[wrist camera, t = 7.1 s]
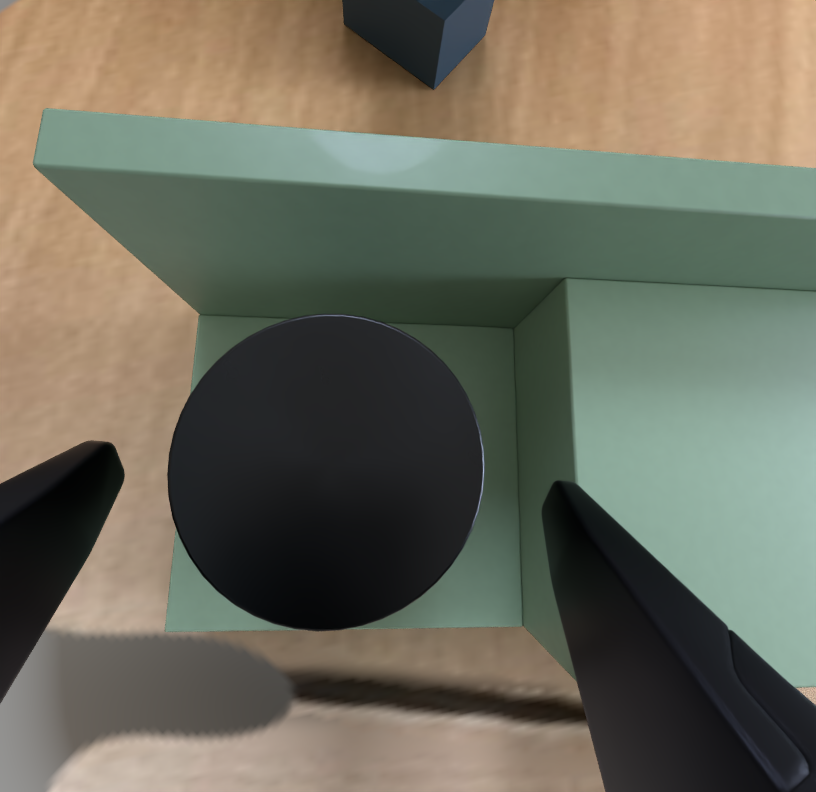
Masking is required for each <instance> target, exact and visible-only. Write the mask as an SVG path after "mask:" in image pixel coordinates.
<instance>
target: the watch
mask: <svg viewBox="0 0 816 792" xmlns="http://www.w3.org/2000/svg"><path fill="white" fill-rule="evenodd" d="M342 2H343V17H344V24H345V25H346V26H347V27H349V28H350V29H352V30H353V31H354V32H356V33H357V34H358V35H360V36H361V37H362V38H364V39H365V40H367V41H368V42H369V43H371V44H372V45H373V46H375V47H376V48H377V49H379V50H380V51H382V52H383V53H384V54H386V55H387V56H388V57H390V58H391V59H392V60H394V61H395V62H397V63H398V64H399V65H401V66H402V67H403V68H405V69H406V70H407V71H409V72H410V73H412V74H413V75H414V76H416V77H417V78H418V79H420V80H421V81H423V82H424V83H425V84H427V85H428V86H429V87H431V88H432V89H433V90H434V89H435V88H436V87H437V86H438V85H439V84H440V83H441V82H442V81H443V79H444V78H445V77H446V76H447V75H448V74H449V73H450V72H451V71H452V70H453V69H454V68H455V67H456V66H457V65H458V64H459V62H460V61H461V60H462V59H463V58H464V57H465V56H466V55H467V54H468V53H469V52H470V51H471V50H472V49H473V48H474V47H475V45H476V44H477V43H478V42H479V41H480V40H481V39H482V38H483V37H484V36H485V34H486V30H487V26H488V22H489V18H490V14H491V11H492V7H493V3H494V0H342Z"/></svg>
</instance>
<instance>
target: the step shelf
mask: <svg viewBox="0 0 816 792" xmlns="http://www.w3.org/2000/svg"><path fill="white" fill-rule="evenodd" d="M33 165H34V167H35V168H36V169H37V170H38V171H39V172H40V173H41V174H43V175H44V176H45V177H46V178H47V179H48V180H49V181H50V182H52V183H53V184H54V185H55V186H56V187H57V188H58V189H59V190H61V191H62V192H63V193H64V194H65V195H66V196H67V197H68V198H70V199H71V200H72V201H73V202H74V203H75V204H76V205H77V206H79V207H80V208H81V209H82V210H83V211H84V212H85V213H86V214H88V215H89V216H90V217H91V218H92V219H93V220H94V221H95V222H97V223H98V224H99V225H100V226H101V227H102V228H103V229H104V230H106V231H107V232H108V233H109V234H110V235H111V236H112V237H114V238H115V239H116V240H117V241H118V242H119V243H120V244H121V245H123V246H124V247H125V248H126V249H127V250H128V251H129V252H130V253H132V254H133V255H134V256H135V257H136V258H137V259H138V260H139V261H141V262H142V263H143V264H144V265H145V266H146V267H147V268H148V269H150V270H151V271H152V272H153V273H154V274H155V275H156V276H157V277H159V278H160V279H161V280H162V281H163V282H164V283H165V284H166V285H168V286H169V287H170V288H171V289H172V290H173V291H174V292H175V293H177V294H178V295H179V296H180V297H181V298H182V299H183V300H184V301H186V302H187V303H188V304H189V305H190V306H191V307H192V308H193V309H195V310H196V311H197V312H198V313H199V314H200V315H199V319H198V328H197V338H196V347H195V356H194V365H193V375H192V384H191V393H192V391H193V390H194V388H195V387H196V385H197V384H198V383H199V381H200V380H201V378H202V377H203V376H204V374H205V373H206V372H207V371H208V370H209V369H210V368H211V367H212V365H213V364H214V363H215V362H216V361H217V360H218V359H219V358H221V357H222V356H223V355H224V354H225V353H226V352H227V351H228V350H230V349H231V348H232V347H233V346H235V345H236V344H238V343H239V342H241V341H242V340H244V339H245V338H247V337H248V336H250V335H252V334H254V333H256V332H258V331H260V330H262V329H264V328H266V327H268V326H271V325H273V324H276V323H279V322H282V321H284V320H288V319H292V318H297V317H301V316H306V315H315V314H349V315H356V316H363V317H367V318H370V319H374V320H378V321H381V322H384V323H386V324H389V325H391V326H394V327H396V328H399V329H400V330H402V331H404V332H406V333H408V334H409V335H411V336H413V337H415V338H416V339H418V340H419V341H420V342H422V343H423V344H424V345H426V346H427V347H428V348H430V349H431V350H432V351H433V352H434V353H435V354H436V355H437V356H438V357H439V358H440V359H441V360H442V361H444V362H445V364H446V365H447V366H448V367H449V369H450V370H451V371H452V372H453V374H454V375H455V376H456V377H457V379H458V380H459V382H460V384H461V385H462V387H463V388H464V390H465V392H466V393H467V395H468V398H469V400H470V402H471V404H472V406H473V409H474V411H475V414H476V417H477V420H478V423H479V427H480V430H481V435H482V441H483V446H484V459H485V476H484V489H483V494H482V499H481V504H480V509H479V512H478V515H477V518H476V521H475V524H474V527H473V529H472V532H471V534H470V536H469V538H468V540H467V542H466V544H465V546H464V548H463V550H462V551H461V552H460V554H459V555H458V557H457V558H456V560H455V561H454V563H453V564H452V566H451V567H450V568H449V570H448V571H447V572H446V573H445V574H444V575H443V576H442V578H441V579H440V580H439V581H438V582H437V583H436V584H435V585H434V586H433V587H432V588H430V589H429V590H428V591H427V592H426V593H425V594H424V595H423V596H421V597H420V598H419V599H417V600H416V601H414V602H413V603H411V604H410V605H408V606H407V607H405V608H404V609H402V610H400V611H398V612H396V613H394V614H392V615H390V616H388V617H386V618H384V619H382V620H379V621H376V622H373V623H370V624H367V625H364V626H360V627H355V628H349V629H406V628H472V627H522V626H524V627H525V628H526V629H527V630H528V631H529V632H530V633H531V634H532V635H533V636H534V637H535V638H536V640H537V641H538V642H539V643H540V644H541V645H542V646H543V647H544V648H545V649H546V650H547V651H548V652H549V653H550V654H551V655H552V656H553V657H554V658H555V659H556V660H557V662H558V663H559V664H560V665H561V666H562V667H563V668H564V669H565V670H566V671H567V672H568V673H569V674H570V675H571V676H572V677H573V678H574V679H575V680H576V676H575V672H574V669H573V665H572V661H571V657H570V653H569V649H568V646H567V642H566V638H565V634H564V630H563V626H562V623H561V619H560V615H559V611H558V607H557V603H556V600H555V596H554V591H553V587H552V582H551V577H550V571H549V564H548V557H547V550H546V543H545V537H544V530H543V523H542V516H541V510H542V505H543V503H544V500H545V498H546V496H547V494H548V492H549V490H550V487H551V485H552V484H553V482H554V481H556V480H562V481H572V482H575V483H576V484H578V485H579V486H580V487H581V488H582V489H583V490H584V491H585V492H586V493H587V494H588V495H589V496H590V497H592V498H593V499H594V500H595V501H596V502H597V503H598V504H599V505H600V506H601V507H602V508H603V509H604V510H605V511H606V512H607V513H609V514H610V515H611V516H612V517H613V518H614V519H615V520H616V521H617V522H618V523H619V524H620V525H621V526H622V527H623V528H624V529H625V530H627V531H628V532H629V533H630V534H631V535H632V536H633V537H634V538H635V539H636V540H637V541H638V542H639V543H640V544H641V545H642V546H644V547H645V548H646V549H647V550H648V551H649V552H650V553H651V554H652V555H653V556H654V557H655V558H656V559H657V560H658V561H659V562H660V563H662V564H663V565H664V566H665V567H666V568H667V569H668V570H669V571H670V572H671V573H672V574H673V575H674V576H675V577H676V578H677V579H679V580H680V581H681V582H682V583H683V584H684V585H685V586H686V587H687V588H688V589H689V590H690V591H691V592H692V593H693V594H694V595H695V596H697V597H698V598H699V599H700V600H701V601H702V602H703V603H704V604H705V605H706V606H707V607H708V608H709V609H710V610H711V611H712V612H714V613H715V614H716V615H717V616H718V617H719V618H720V619H721V620H722V621H723V622H724V623H725V624H726V625H727V626H728V629H729V630H733V631H734V632H735V633H736V634H737V635H738V636H739V637H740V638H741V639H742V640H743V641H744V642H746V643H747V644H748V645H749V646H750V647H751V648H752V649H753V650H754V651H755V652H756V653H757V654H758V655H760V656H761V657H762V658H763V659H764V660H765V661H766V662H767V663H768V664H769V665H770V666H772V667H773V668H774V669H775V670H776V671H777V672H778V673H779V674H780V675H781V676H782V677H784V678H785V679H786V680H787V681H788V682H789V683H790V684H791V685H793V686H794V687H795V688H801V687H816V168H806V167H793V166H780V165H767V164H755V163H742V162H729V161H716V160H703V159H691V158H678V157H665V156H652V155H639V154H626V153H614V152H601V151H588V150H575V149H562V148H549V147H537V146H524V145H511V144H498V143H485V142H472V141H460V140H447V139H434V138H421V137H408V136H395V135H383V134H370V133H357V132H344V131H331V130H318V129H306V128H293V127H280V126H267V125H254V124H242V123H229V122H216V121H203V120H190V119H177V118H165V117H152V116H139V115H126V114H113V113H100V112H88V111H75V110H62V109H49V108H46V109H44V110H43V114H42V119H41V124H40V129H39V134H38V140H37V145H36V150H35V155H34V160H33ZM191 393H190V394H191ZM275 630H297V629H292V628H288V627H284V626H280V625H275V624H272V623H270V622H267V621H265V620H262V619H260V618H257V617H255V616H253V615H251V614H249V613H247V612H246V611H244V610H242V609H241V608H239V607H237V606H235V605H234V604H233V603H231V602H230V601H229V600H228V599H226V598H225V597H224V596H222V595H221V594H220V593H219V592H217V591H216V590H215V589H214V587H213V586H212V585H211V584H210V583H209V582H208V581H207V580H206V579H205V578H204V577H203V576H202V575H201V573H200V572H199V570H198V569H197V568H196V566H195V565H194V563H193V562H192V560H191V559H190V558H189V556H188V554H187V552H186V550H185V548H184V546H183V544H182V542H181V540H180V538H179V535H178V532H177V529H176V532H175V541H174V550H173V559H172V569H171V578H170V587H169V596H168V606H167V615H166V624H165V632H209V631H275ZM576 681H577V680H576Z"/></svg>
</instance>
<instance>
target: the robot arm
mask: <svg viewBox="0 0 816 792" xmlns="http://www.w3.org/2000/svg"><path fill="white" fill-rule="evenodd" d="M124 476H125V474H124V469H123V466H122V464H121V461H120V459H119V456H118V453H117V451H116V448H115V446H114V445H113V444H112V443H110V442H104V441H86V442H84V443H81V444H79V445H77V446H75V447H73V448H71V449H69V450H67V451H65V452H63V453H61V454H59V455H57V456H55V457H53V458H51V459H49V460H47V461H45V462H43V463H41V464H39V465H37V466H35V467H33V468H31V469H29V470H27V471H25V472H23V473H21V474H19V475H17V476H15V477H13V478H11V479H9V480H7V481H5V482H3V483H1V484H0V703H1V702H2V700H3V698H4V697H5V695H6V693H7V691H8V690H9V688H10V687H11V685H12V683H13V681H14V680H15V678H16V677H17V675H18V673H19V672H20V670H21V668H22V666H23V665H24V663H25V661H26V660H27V658H28V657H29V655H30V653H31V652H32V650H33V648H34V646H35V645H36V643H37V642H38V640H39V638H40V637H41V635H42V633H43V632H44V630H45V628H46V627H47V625H48V623H49V622H50V620H51V618H52V617H53V615H54V613H55V612H56V610H57V608H58V607H59V605H60V603H61V601H62V600H63V598H64V596H65V595H66V593H67V591H68V590H69V588H70V586H71V585H72V583H73V581H74V580H75V578H76V576H77V575H78V573H79V571H80V570H81V568H82V566H83V565H84V563H85V561H86V559H87V558H88V556H89V554H90V552H91V550H92V548H93V546H94V544H95V542H96V540H97V538H98V536H99V534H100V532H101V530H102V527H103V525H104V523H105V521H106V519H107V517H108V514H109V512H110V510H111V508H112V506H113V504H114V502H115V499H116V497H117V495H118V493H119V491H120V489H121V486H122V484H123V481H124ZM541 516H542V523H543V530H544V537H545V543H546V550H547V557H548V564H549V571H550V577H551V582H552V587H553V591H554V596H555V600H556V603H557V607H558V611H559V615H560V619H561V623H562V626H563V630H564V634H565V638H566V642H567V646H568V649H569V653H570V657H571V661H572V665H573V669H574V672H575V676H576V680H577V684H578V688H579V692H580V695H581V699H582V703H583V707H584V711H585V715H586V718H587V722H588V726H589V730H590V734H591V738H592V741H593V745H594V749H595V753H596V757H597V761H598V764H599V768H600V772H601V776H602V780H603V784H604V787H605V791H606V792H816V705H815V704H813V703H812V702H811V701H810V700H809V699H808V698H806V697H805V696H804V695H803V694H802V693H801V692H800V691H798V690H797V689H796V688H795V687H794V686H793V685H791V684H790V683H789V682H788V681H787V680H786V679H785V678H784V677H782V676H781V675H780V674H779V673H778V672H777V671H776V670H775V669H774V668H773V667H772V666H770V665H769V664H768V663H767V662H766V661H765V660H764V659H763V658H762V657H761V656H760V655H758V654H757V653H756V652H755V651H754V650H753V649H752V648H751V647H750V646H749V645H748V644H747V643H746V642H744V641H743V640H742V639H741V638H740V637H739V636H738V635H737V634H736V633H735V632H734V631H733V630H729V629H728V626H727V625H726V624H725V623H724V622H723V621H722V620H721V619H720V618H719V617H718V616H717V615H716V614H715V613H714V612H712V611H711V610H710V609H709V608H708V607H707V606H706V605H705V604H704V603H703V602H702V601H701V600H700V599H699V598H698V597H697V596H695V595H694V594H693V593H692V592H691V591H690V590H689V589H688V588H687V587H686V586H685V585H684V584H683V583H682V582H681V581H680V580H679V579H677V578H676V577H675V576H674V575H673V574H672V573H671V572H670V571H669V570H668V569H667V568H666V567H665V566H664V565H663V564H662V563H660V562H659V561H658V560H657V559H656V558H655V557H654V556H653V555H652V554H651V553H650V552H649V551H648V550H647V549H646V548H645V547H644V546H642V545H641V544H640V543H639V542H638V541H637V540H636V539H635V538H634V537H633V536H632V535H631V534H630V533H629V532H628V531H627V530H625V529H624V528H623V527H622V526H621V525H620V524H619V523H618V522H617V521H616V520H615V519H614V518H613V517H612V516H611V515H610V514H609V513H607V512H606V511H605V510H604V509H603V508H602V507H601V506H600V505H599V504H598V503H597V502H596V501H595V500H594V499H593V498H592V497H590V496H589V495H588V494H587V493H586V492H585V491H584V490H583V489H582V488H581V487H580V486H579V485H578V484H576V483H575V482H572V481H562V480H556V481H554V482H553V484H552V485H551V487H550V490H549V492H548V494H547V496H546V498H545V500H544V503H543V505H542V510H541Z"/></svg>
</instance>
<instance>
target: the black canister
mask: <svg viewBox="0 0 816 792" xmlns="http://www.w3.org/2000/svg"><path fill="white" fill-rule="evenodd" d="M167 476H168V495H169V501H170V507H171V512H172V517H173V520H174V523H175V526H176V529H177V532H178V535H179V538H180V540H181V542H182V544H183V546H184V548H185V550H186V552H187V554H188V556H189V558H190V559H191V560H192V562H193V563H194V565H195V566H196V568H197V569H198V570H199V572H200V573H201V575H202V576H203V577H204V578H205V579H206V580H207V581H208V582H209V583H210V584H211V585H212V586H213V587H214V589H215V590H216V591H217V592H219V593H220V594H221V595H222V596H224V597H225V598H226V599H228V600H229V601H230V602H231V603H233V604H234V605H235V606H237V607H239V608H241V609H242V610H244V611H246V612H247V613H249V614H251V615H253V616H255V617H257V618H260V619H262V620H265V621H267V622H270V623H272V624H275V625H280V626H284V627H288V628H292V629H297V630H308V631H336V630H344V629H349V628H355V627H360V626H364V625H367V624H370V623H373V622H376V621H379V620H382V619H384V618H386V617H388V616H390V615H392V614H394V613H396V612H398V611H400V610H402V609H404V608H405V607H407V606H408V605H410V604H411V603H413V602H414V601H416V600H417V599H419V598H420V597H421V596H423V595H424V594H425V593H426V592H427V591H428V590H429V589H430V588H432V587H433V586H434V585H435V584H436V583H437V582H438V581H439V580H440V579H441V578H442V576H443V575H444V574H445V573H446V572H447V571H448V570H449V568H450V567H451V566H452V564H453V563H454V561H455V560H456V558H457V557H458V555H459V554H460V552H461V551H462V550H463V548H464V546H465V544H466V542H467V540H468V538H469V536H470V534H471V532H472V529H473V527H474V524H475V521H476V518H477V515H478V512H479V509H480V504H481V499H482V494H483V489H484V476H485V459H484V446H483V441H482V435H481V430H480V427H479V423H478V420H477V417H476V414H475V411H474V409H473V406H472V404H471V402H470V400H469V398H468V395H467V393H466V392H465V390H464V388H463V387H462V385H461V384H460V382H459V380H458V379H457V377H456V376H455V375H454V374H453V372H452V371H451V370H450V369H449V367H448V366H447V365H446V364H445V362H444V361H442V360H441V359H440V358H439V357H438V356H437V355H436V354H435V353H434V352H433V351H432V350H431V349H430V348H428V347H427V346H426V345H424V344H423V343H422V342H420V341H419V340H418V339H416V338H415V337H413V336H411V335H409V334H408V333H406V332H404V331H402V330H400V329H399V328H396V327H394V326H391V325H389V324H386V323H384V322H381V321H378V320H374V319H370V318H367V317H363V316H356V315H349V314H315V315H306V316H301V317H297V318H292V319H288V320H284V321H282V322H279V323H276V324H273V325H271V326H268V327H266V328H264V329H262V330H260V331H258V332H256V333H254V334H252V335H250V336H248V337H247V338H245V339H244V340H242V341H241V342H239V343H238V344H236V345H235V346H233V347H232V348H231V349H230V350H228V351H227V352H226V353H225V354H224V355H223V356H222V357H221V358H219V359H218V360H217V361H216V362H215V363H214V364H213V365H212V367H211V368H210V369H209V370H208V371H207V372H206V373H205V374H204V376H203V377H202V378H201V380H200V381H199V383H198V384H197V385H196V387H195V388H194V390H193V391H192V393H191V394H190V396H189V398H188V400H187V402H186V404H185V406H184V408H183V410H182V412H181V414H180V417H179V420H178V422H177V425H176V428H175V431H174V434H173V439H172V443H171V448H170V452H169V462H168V474H167Z"/></svg>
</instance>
